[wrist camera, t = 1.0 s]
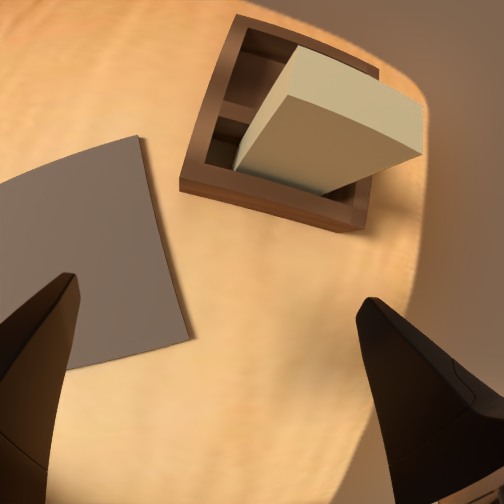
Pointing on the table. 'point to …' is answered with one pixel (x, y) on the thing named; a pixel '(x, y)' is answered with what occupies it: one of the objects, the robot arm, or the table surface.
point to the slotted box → (241, 116)
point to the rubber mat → (92, 250)
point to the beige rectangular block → (328, 127)
